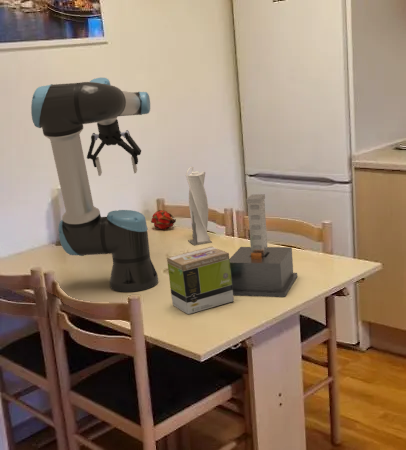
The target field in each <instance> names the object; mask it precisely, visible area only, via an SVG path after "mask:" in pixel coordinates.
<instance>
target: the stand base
mask: <svg viewBox="0 0 406 450" xmlns="http://www.w3.org/2000/svg"><path fill="white" fill-rule="evenodd" d="M267 248H268V255H267V257H262V253H251V246H240V247H239V248H238V249H237V250H236V251H235V253H234V254H233V255H232V256H231V257H229V259H230V269H231V278H232V289H233V296H240V297H241V296H243V297H244V296H245V297H246V296H247V297H269V298H270V297H271V298H273V297H274V298H286V296H287V295H288V293H289V291H290V290H291V288H292V286H293V284H294V282H296V280H297V278H298V272H294V263H293V248H292V246H288V247H287V246H286V247H285V246H284V247H283V246H267Z"/></svg>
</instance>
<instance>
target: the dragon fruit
mask: <svg viewBox="0 0 406 450" xmlns="http://www.w3.org/2000/svg"><path fill="white" fill-rule="evenodd" d="M150 223H151V224H153V226H154V229H155V230H157V229H161V230H162V231H169V228H170V227H171V228H173V227H174V224H175V223H176V219H175V217H174V216H173V214H171V213H170V212H168V211H166V210H164V209H158V210H156V211H155V212H154V213H153V214H152V216H151V220H150Z"/></svg>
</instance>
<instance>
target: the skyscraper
mask: <svg viewBox="0 0 406 450" xmlns="http://www.w3.org/2000/svg"><path fill="white" fill-rule="evenodd" d="M190 170H191V173H190V174H188V173H189V171H190ZM185 174H186V175H185V177H186V180H187V183H188V187H189V190H188V208H189V214H190V215H189V216H190V220H191V228H192V234H191V235H192V239H188V240H187V241H188V243H190V244H191V245H193V246H200V245H201V246H202V245H205V244H211V243H213V241H212V240H211V238H210V236H209V234H208V222H209V204H208V197H207V192H206V188H205V186H204V184H205V177H206V171H205V170H203V171H201V172H200V171H196V170H195V171H194V167H193V166H190V167H188V169H187V171H186V173H185Z"/></svg>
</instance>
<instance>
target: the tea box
mask: <svg viewBox="0 0 406 450" xmlns="http://www.w3.org/2000/svg"><path fill="white" fill-rule="evenodd" d="M166 262H167V269H168V270H167V271H168V276H169V277H168V278H169V285H170V286H169V288H170V294H171V295H170V296H171V301H172V306H174V307H175V308H176V309H178V310H180V311H182V312H183V313H185V314H186V315H191V314H194V313H197V312H200V311H205V310H208V309H211V308H215V307H218V306H221V305H225V304H229V303H232V302H234V300H235V299H234V295H233V289H232V278H231V269H230V253H229V252H227V251H224V250H221V249H220V248H219V249H218V248H216V247H214V246H207V247H204V248H201V249H197V250H196V249H195V250H192V251H187V252H185V253H181V254H177V255H172V256H169V257H167V258H166Z"/></svg>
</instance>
